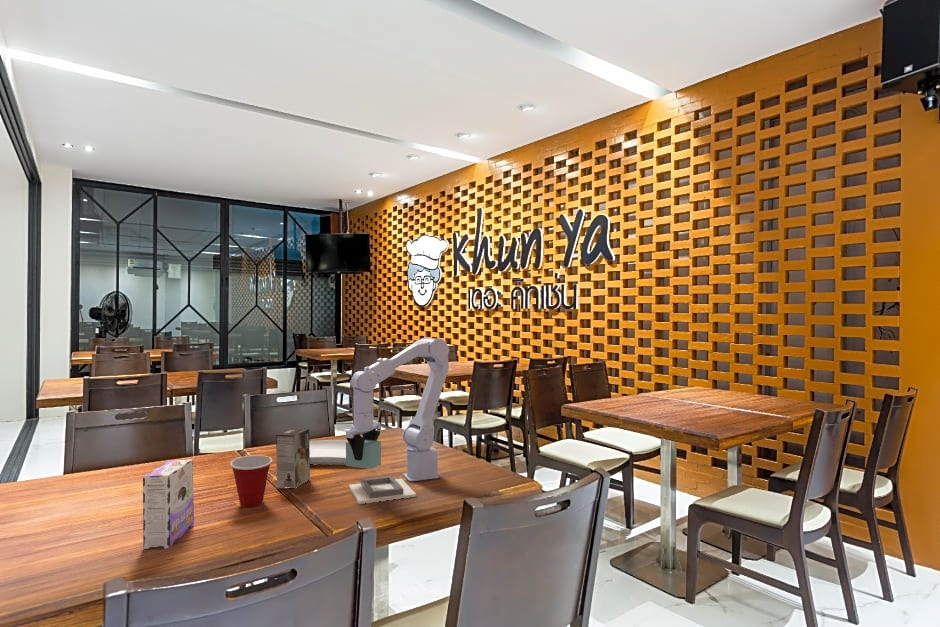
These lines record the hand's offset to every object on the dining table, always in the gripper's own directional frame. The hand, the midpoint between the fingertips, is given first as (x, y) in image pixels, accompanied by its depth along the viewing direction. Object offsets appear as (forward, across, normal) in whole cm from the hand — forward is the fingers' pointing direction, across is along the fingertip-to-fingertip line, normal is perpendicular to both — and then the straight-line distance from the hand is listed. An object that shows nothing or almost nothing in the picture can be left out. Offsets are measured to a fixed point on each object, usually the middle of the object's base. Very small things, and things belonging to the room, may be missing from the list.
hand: (363, 457), depth 168 cm
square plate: (+10, -25, -31) cm, 41 cm away
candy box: (+9, +49, -20) cm, 54 cm away
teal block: (+2, 0, 0) cm, 2 cm away
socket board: (+9, +2, +7) cm, 12 cm away
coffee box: (+9, +6, -22) cm, 24 cm away
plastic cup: (+9, +24, -20) cm, 33 cm away
